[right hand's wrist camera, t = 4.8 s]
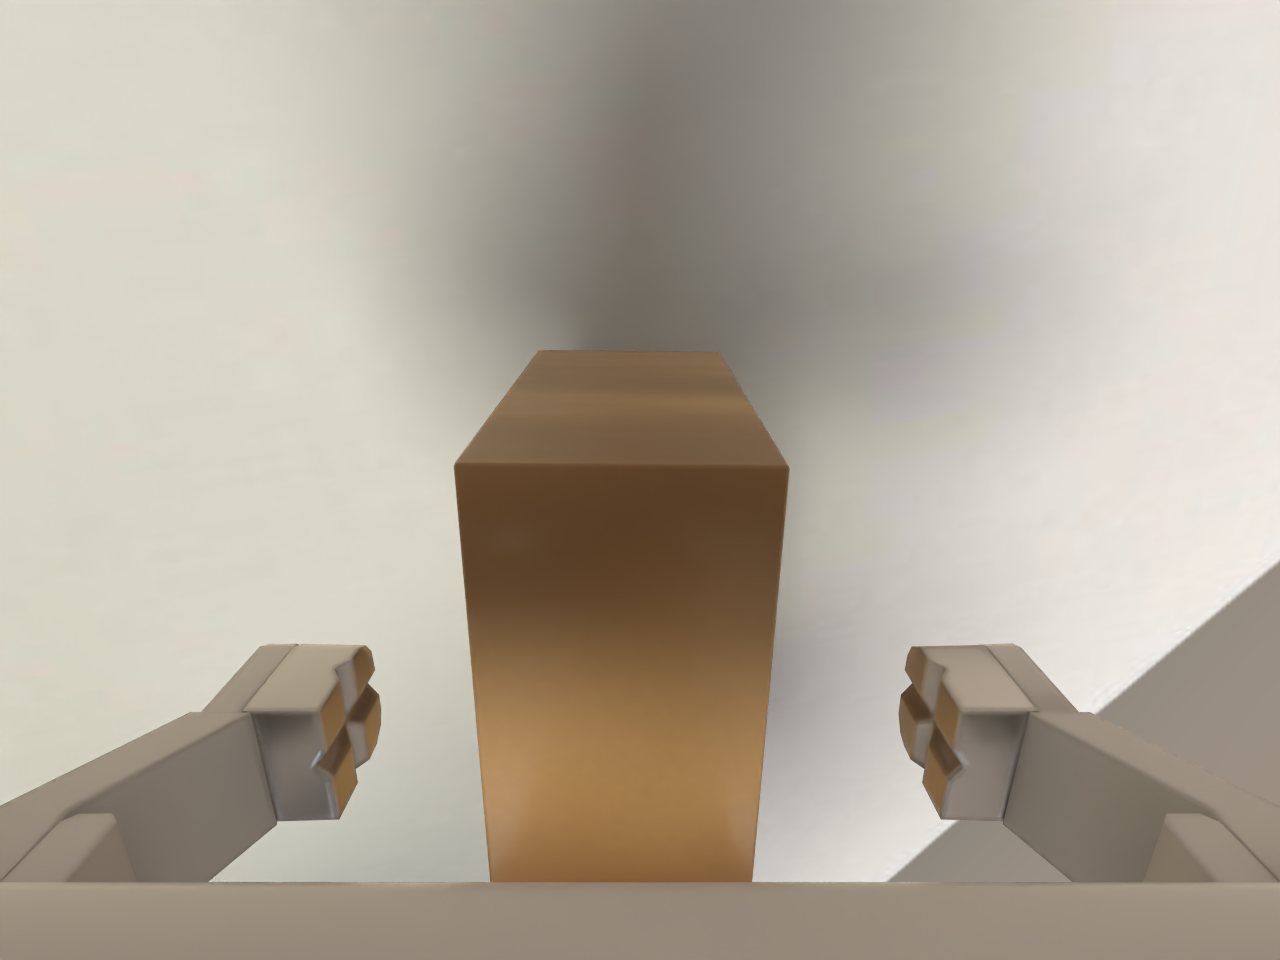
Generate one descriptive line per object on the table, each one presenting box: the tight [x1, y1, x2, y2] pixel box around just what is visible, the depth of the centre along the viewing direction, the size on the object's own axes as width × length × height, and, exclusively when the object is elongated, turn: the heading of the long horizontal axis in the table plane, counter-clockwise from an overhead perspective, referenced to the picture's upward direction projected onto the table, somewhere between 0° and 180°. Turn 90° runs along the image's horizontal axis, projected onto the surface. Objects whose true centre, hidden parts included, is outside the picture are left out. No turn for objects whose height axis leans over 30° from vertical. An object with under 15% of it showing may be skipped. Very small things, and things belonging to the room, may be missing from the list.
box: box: [454, 350, 789, 882], centre depth 20 cm, size 20×6×11 cm, turn 179°
